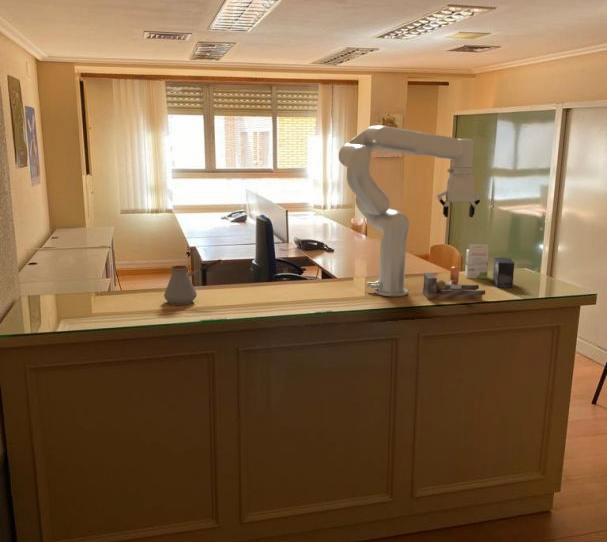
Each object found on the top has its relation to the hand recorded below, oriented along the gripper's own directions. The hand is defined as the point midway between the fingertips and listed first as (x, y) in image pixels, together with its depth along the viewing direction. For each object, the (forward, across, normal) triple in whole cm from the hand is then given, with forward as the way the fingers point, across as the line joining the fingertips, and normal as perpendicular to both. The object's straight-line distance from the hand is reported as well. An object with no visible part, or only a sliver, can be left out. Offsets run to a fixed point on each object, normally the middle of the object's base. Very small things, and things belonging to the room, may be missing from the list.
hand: (458, 216), depth 229 cm
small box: (+29, +21, +5) cm, 36 cm away
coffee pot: (+28, -99, -21) cm, 105 cm away
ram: (+26, -4, -13) cm, 29 cm away
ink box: (+28, +14, +18) cm, 36 cm away
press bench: (+28, -4, -13) cm, 31 cm away
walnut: (+26, -9, -13) cm, 31 cm away
